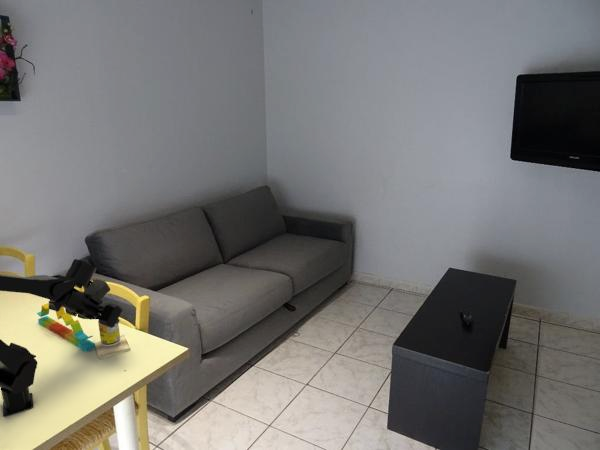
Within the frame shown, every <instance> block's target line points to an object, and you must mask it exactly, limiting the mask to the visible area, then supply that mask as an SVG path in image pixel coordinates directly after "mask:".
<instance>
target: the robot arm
mask: <svg viewBox="0 0 600 450" xmlns="http://www.w3.org/2000/svg"><path fill="white" fill-rule="evenodd" d="M97 269H98V268H97V267H96V266H94V265H93V264H89V263H87V262H84V261H82V260H81V259H76V258H75V259H73V261H72V262H71V265H70V267H69V269H68V270H67V272H66V273H65V275H61V274H55V275H46V274H39V275H38V274H37V275H32V276H18V275H11V274H10V275H9V274H2V273H1V274H0V292H7V293H9V292H10V293H21V294H29V295H33V296H36V297H40V298H44V299H48V300H49V301H48V303H49V311H50V310H51V311H54V312H56V311H57V312H58V311H59V310H60V308H61V307H63V308H64V311H65V313H67V314H70V315H71V316H72V317H78V318H79V319H82V320H99V323H100V324H101V325H104V326H107V327H110V328H112V327H114V326H115V324H119V322H120V316H121V314H122V312H123V307H121V306H120V305H118V304H114V303H111V302H110V303H108V304H106V305H103V306H102V303H103V298H104V296H106V295H107V293H109V292H110V291H111V287H110V286H109V285H108V283H107V282H106V280H102V279H98V278H97V279H94V278H93V276H94V274H95V273H96V271H97ZM92 278H93V279H92ZM77 288H78V289H77ZM82 288H83V291H80V290H79V289H82ZM100 314H101V316H100ZM36 357H37V355H35V354H33V353H31V352H30V350H29V349H27V348H26V347H24V346H22V345H20V344H16V343H14V342H10V344H9V345H8V344H7V343H5V342H4V341H3V340H2V339H1V338H0V393H1V397H2V400H3V401H2V415H3V416H2V417H4V418H5V417H8V416H11V415H15V414H17V413H20V412H24V411H28V410H30V409H32V408H34V397H33V396H34V395H33V393H32V392H30V389H29V387H31V386H33V385H34V380H35V376H36V370H37V368H38V367H37V366H38V363H39V362H38V361H37V359H36Z"/></svg>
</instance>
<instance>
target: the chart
mask: <svg viewBox="0 0 600 450" xmlns="http://www.w3.org/2000/svg"><path fill="white" fill-rule="evenodd" d="M49 313H50V309H49V302H48V303H47V302H46V303H45V304H42V305H41V310H40V311H39V312H37V313H36V314H37V316H39V317H40V318H38V319H37V321H38V324H39V325H40V326H42V327H43V328H46V329H47V330H48V331H50V332H52V333H53V334H55V335H57V336H58V337H60V338H61V339H64V340H65V341H67V342H69V343H70V344H72V345H73V346H75V347H77V348H78V349H80V350H82V351H83V352H85V353H88V352H90V351H92V350H94V349H96V348H95V343H96V342H94V341H91V340H90V339H91V338H93V335H90V336H88V335H87V334H86V332H84V330H83V327H82V326H81V324H80V321H79V320H78V319H76V320H74V318H73V316H72V315H70V314H67V313H66V310H65V308H64V307H61V308H60V310H59V311H58V312H57V311H55V314H56V317H57V320H61V319H62V320H63V322H64V324H65V325H63V324H62V323H60V322H58V321H57V320H55V319H53V318H51V317H50V316H48V315H49ZM69 325H70V327H71V328H69V327H67V326H69Z"/></svg>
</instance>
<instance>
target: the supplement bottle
mask: <svg viewBox="0 0 600 450" xmlns="http://www.w3.org/2000/svg"><path fill="white" fill-rule="evenodd" d="M100 316H101V314H100ZM97 320H98V321H97V322H98V328H99V329H98V330H99V337H100V341H101V344H102V345H104V346H113V345H115V344H117V343H118V342H119V341H120V336H121V334H120V326H119V323H118V324H115V326H114V327H112V328H110V327H107V326H104V325H101V324H100V323H99V319H97Z"/></svg>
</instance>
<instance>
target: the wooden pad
mask: <svg viewBox="0 0 600 450" xmlns="http://www.w3.org/2000/svg"><path fill="white" fill-rule="evenodd" d="M94 343H95V348H94V349H95V351H96V354H97V356H98V359H99V360H102V359H105V358H106V359H107V358H110V357H113V356H116V355H120V354H123V353H127V352H131V346H130V344H129V341H128V339H127V338H126V335H124V334H122V335H120V341H119V342H118V343H117V344H115V345H113V346H104V345H102V344H101V340H100V341H95V342H94Z"/></svg>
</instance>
